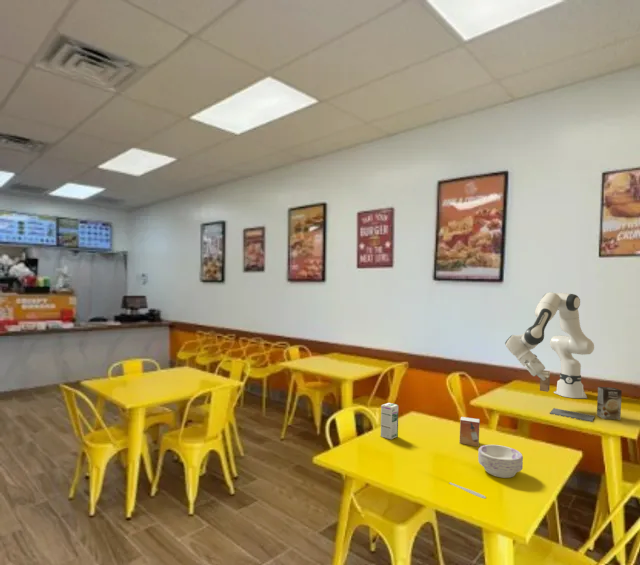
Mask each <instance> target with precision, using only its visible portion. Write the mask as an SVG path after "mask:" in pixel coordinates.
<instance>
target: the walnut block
mask: <svg viewBox="0 0 640 565" xmlns="http://www.w3.org/2000/svg"><path fill="white" fill-rule="evenodd" d="M540 373H541V374H542V375H543V376H544V377H545V378H546V380H544V381H543V380H542V379H541V378H540V377H539V391H541V392H546V393H548V392H549V391H550V388H551V387H550V383H551V382H550V380H551V379H550V378H551V377H550V376H551V371H550V370H545V369H544V370H542V371H541V372H540Z"/></svg>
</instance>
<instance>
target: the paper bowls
mask: <svg viewBox="0 0 640 565" xmlns="http://www.w3.org/2000/svg"><path fill="white" fill-rule="evenodd" d="M477 451H478V456H477V457H478V460H477V461H478V463H479V465H481V466H482V467H483V468H484V470H485V471H486V473H488V474H490V475H491V476H494V477H498V478H504V479H507V478H508V479H509V478H513V477H515V475H517V473H519V472H521V471H522V470H523V467H524V466H523V465H524V462H523V458H524V457H523V454H522V453H521V452H520V451H519V450H517V449H515V448H513V447H509V446H505V445H499V444H484V445H480V447H479V448H478V450H477Z"/></svg>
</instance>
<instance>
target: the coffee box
mask: <svg viewBox="0 0 640 565" xmlns="http://www.w3.org/2000/svg"><path fill="white" fill-rule="evenodd" d="M622 392H623V391H622V389H619V388H616V387H608V386H607V387H606V386H598V387H597V400H596V401H597V403H596V404H597V406H596V416H598V417H599V418H601V419H603V420H615V419H618V420H619V421H620V420H621V414H622V411H621V410H622Z"/></svg>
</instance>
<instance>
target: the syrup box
mask: <svg viewBox="0 0 640 565" xmlns="http://www.w3.org/2000/svg"><path fill="white" fill-rule="evenodd" d="M380 406H381V407H380V408H381V409H380V437H382V438H385V439H387V440H393V439H394V438H398V436H399V405H398V404H396V403H391V402H387V403H384V404H381V405H380Z"/></svg>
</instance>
